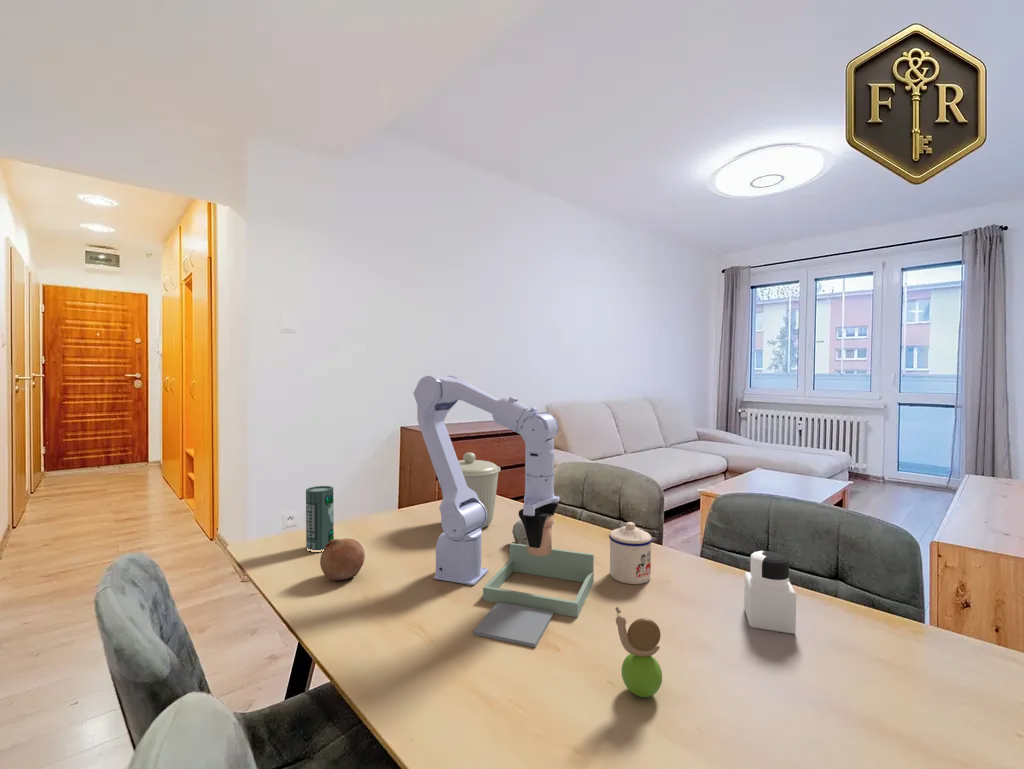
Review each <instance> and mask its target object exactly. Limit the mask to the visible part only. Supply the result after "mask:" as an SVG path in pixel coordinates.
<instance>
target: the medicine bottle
mask: <svg viewBox="0 0 1024 769" xmlns="http://www.w3.org/2000/svg"><path fill="white" fill-rule="evenodd" d="M743 591H744V594H743V595H744V596H743V598H744V602H743V605H744V606H743V608H744V612H745V615H746V619H747V623H748V626H749V627H750V628H754V629H759V630H766V631H772V632H776V633H777V632H779V633H783V634H784V633H785V634H792V635H795V634H796V632H797V631H796V630H797V626H796V625H797V620H796V619H797V618H796V617H797V593H796V591H795V590H794V588H793V586H792V583H791V582H790V561H789V559H788V558H787V557H785V556H784V555H782V554H780V553H778V552H774V551H769V550H758V551H754V552H753V553H751V555H750V572H749V571H746V572H744V590H743Z"/></svg>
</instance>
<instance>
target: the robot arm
mask: <svg viewBox="0 0 1024 769" xmlns="http://www.w3.org/2000/svg"><path fill="white" fill-rule="evenodd" d="M413 396H414V399H415V403H416V404H417V405H416V408H417V410H416V411H417V416H416V418H417V423H418V426H419V429H420V432H421V434H422V437H423V441H424V444H425V446H426V450H427V452H428V454H429V457H430V460H431V463H432V467H433V469H434V472H435V475H436V477H437V480H438V482H439V486H440V488H441V493H442V492H443V495H444V497H442V500H441V503H440V505H439V507H438V509H439V512H440V517H441V519H440V521H441V522H440V524H441V525H440V526H441V529H442V531H443V532H442V533H441V534H440V535H439V536H438V538H437V540H436V544H435V575H434V576H433V579H435V580H439V581H440V580H441V581H446V582H452V583H458V584H463V585H468V586H474V585H476V584H477V583H478V582H479V581H480V580H481V579H482V578H483V577H484V576H485V575H486V574H487V573H488V572H489V569H488V568H485V567H482V532H483V528H482V526H483V525H484V524H485V523H486V520H487V510H486V508H485V506H484V505H483V504H482V502H481V501H480V500H479V498H478V496H477V493H476V492H474V491H473V490H471V489H470V488H469V487H468V486H467V484H466V481H465V478H464V475H463V473H462V470H461V467H460V464H459V462H458V461H459V459H458V457H457V454H456V450H455V448H454V444H453V442H452V440H451V437H450V435H449V431H448V429H447V426H446V423H445V420H446V418H447V415H448V414H449V413H450V410H452V409H453V407H454V406H455V405H456V404H457V403H458V402H459V401H462V402H465V403H467V404H469V405H471V406H474V407H476V408H477V409H480V410H483V411H485V412H487V413H489V414H491V416H492V419H493V421H494V422H495V423H497V424H499V425H501V426H502V427H505V428H507V429H508V430H510V431H513V432H514V433H517V434H519V435H520V436H521V438H522V440H523V441H524V443H525V444H524V445H525V451H524V452H525V455H524V456H525V460H524V461H525V463H524V466H525V467H524V471H525V472H524V473H525V474H524V475H525V476H524V490H525V491H524V496H523V501H524V503H523V506H522V508H521V509H519V510H518V517H519V519H520V520H521V521H522V523H523V525H524V528H525V531H526V535H527V540H528V544H529V547H533V548H540V546H541V542H542V534H543V528H544V524H545V521H546V519H547V517H548V515H549V514H551V515H553V516H554V515H555V513H556V511H557V508H558V506H559V505H560V504H559V503H560V502H559V501H560V499H561V498H560V496H559V495H557V496H556V495H555V492H554V491H555V490H554V488H555V439H554V438H555V437H556V436H557V434H558V433H559V423H558V420H557V418H556V417H555V416H554V415H553V414H551V413H549V412H547V411H544V412H543V411H542V412H538V408H537V407H534V406H531V407H529V406H527V405H526V404H525V405H524V404H523V403H521V402H518V398H517V397H515V396H509V397H508V396H505V397H503V398H500V399H499V398H497V397H496V396H493V395H491V394H489V393H488V392H486V391H484V390H482V389H480V388H479V387H478V386H477V387H476V386H475V385H473V384H472V383H469V382H468V381H466V380H465V379H462V378H458V377H456V376H454V375H447V376H432V375H424V376H423V377H421V378H420V379H419V380H418V381H417V384H416V386H415V388H414V391H413ZM460 504H461V505H460ZM459 505H460V506H459ZM540 512H542V513H540ZM548 513H549V514H548ZM554 517H555V516H554Z"/></svg>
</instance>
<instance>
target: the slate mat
mask: <svg viewBox="0 0 1024 769" xmlns="http://www.w3.org/2000/svg"><path fill="white" fill-rule="evenodd" d="M554 614H555V613H554V612H551V611H546V610H540V609H535V608H529V607H524V606H518V605H513V604H507V603H502V602H497V603H495V604H494V605H493V607H491V609H490V611H488V612H487V614H486V615H485V616H484V617H483V619H482V620H481V621H480V622H479V623H478V625H476V627H475V628H474V629H473V630H472V635H474V636H478V637H484V638H489V639H493V640H498V641H502V642H508V643H511V644H512V643H513V644H517V645H522V646H527V647H532V648H537V646H538V644H539V642H540V641H541V639H542V638H543V635H544V633H545V631H546V630H547V627H548V626H549V625H550V622H551V620H552V619H553V617H554Z"/></svg>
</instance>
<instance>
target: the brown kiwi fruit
mask: <svg viewBox="0 0 1024 769" xmlns="http://www.w3.org/2000/svg"><path fill="white" fill-rule="evenodd" d="M327 543H328V542H327ZM324 547H326V548H325V549H324V551H323V552H321V554H320V559H319V560H320V562H319V563H320V569H321V571H322V573H323V574H324V576H325V577H326V578H327V579H329V580H331V581H334V582H336V581H335V580H337V581H344V580H350V578H351V579H353V578H354V577H355V576H356V577H357V575H358V574H359V572H360V571H361V569H362V567H363V566H364V562H365V558H366V555H365V554H366V553H365V549H364V547H363V545H362V544H361V543H360V542H359V541H357V539H355V538H347V537H346V538H341V539H339V538H336V539H334V540H331V541H329V543H328V544H326V546H324ZM347 578H348V579H347Z"/></svg>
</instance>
